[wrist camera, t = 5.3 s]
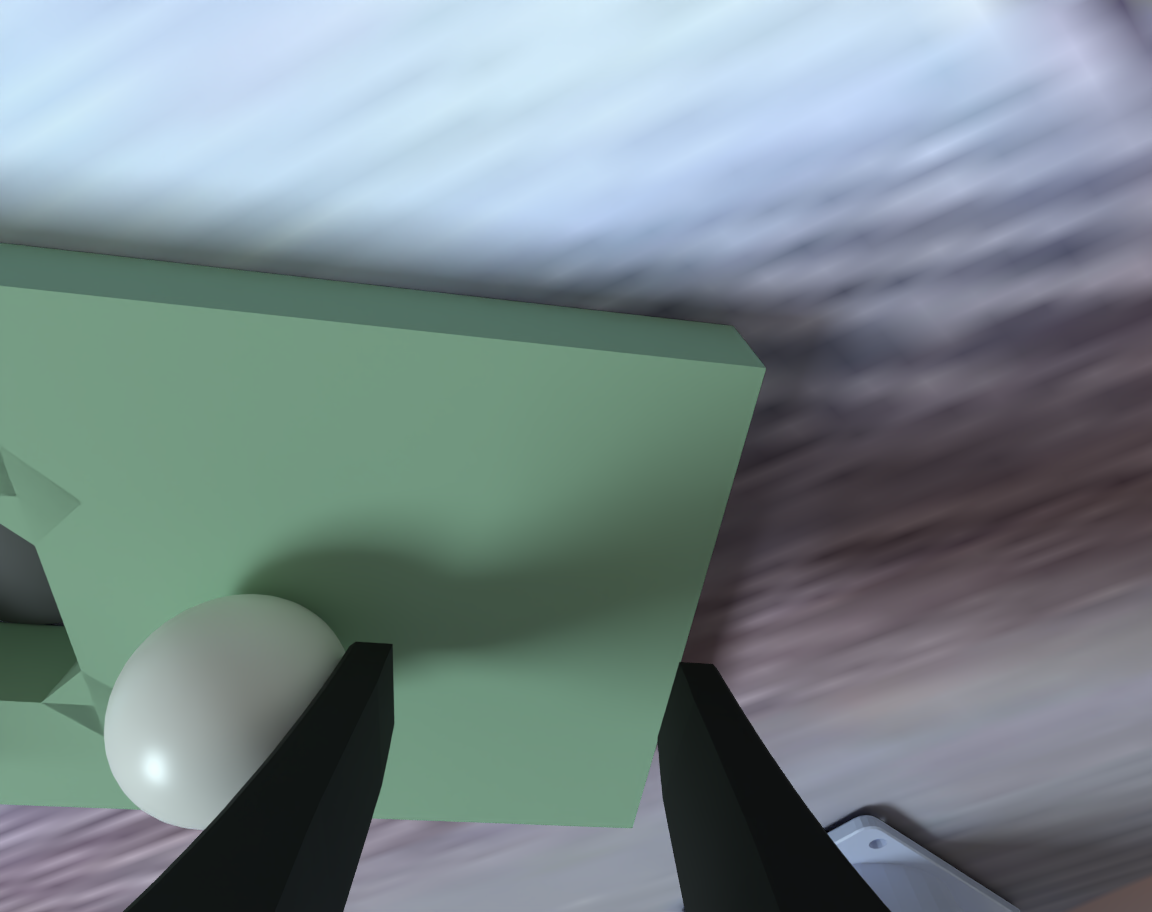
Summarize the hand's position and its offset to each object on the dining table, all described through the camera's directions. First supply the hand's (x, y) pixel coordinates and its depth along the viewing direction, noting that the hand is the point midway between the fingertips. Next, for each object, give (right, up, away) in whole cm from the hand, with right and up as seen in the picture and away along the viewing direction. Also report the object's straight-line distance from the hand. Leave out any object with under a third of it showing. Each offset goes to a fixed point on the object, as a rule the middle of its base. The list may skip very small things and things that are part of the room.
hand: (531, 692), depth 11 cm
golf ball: (-5, 0, -1) cm, 5 cm away
